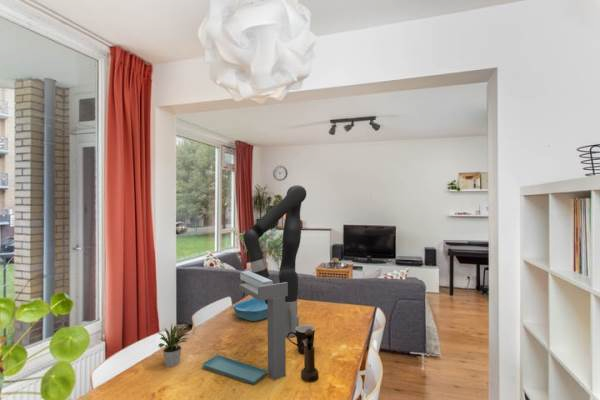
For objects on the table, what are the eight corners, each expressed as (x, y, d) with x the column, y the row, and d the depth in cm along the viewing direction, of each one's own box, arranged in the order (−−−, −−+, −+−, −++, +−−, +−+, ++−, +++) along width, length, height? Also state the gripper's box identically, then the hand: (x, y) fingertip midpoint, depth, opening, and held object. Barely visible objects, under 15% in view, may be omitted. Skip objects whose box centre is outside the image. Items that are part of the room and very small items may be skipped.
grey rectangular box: (240, 279, 143) (240, 271, 143) (248, 278, 145) (248, 270, 145) (263, 290, 123) (263, 282, 123) (272, 289, 125) (272, 280, 125)
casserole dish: (267, 302, 215) (267, 292, 215) (294, 308, 202) (294, 297, 202) (225, 318, 185) (225, 306, 185) (254, 326, 172) (253, 313, 172)
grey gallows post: (239, 361, 133) (239, 277, 134) (265, 354, 139) (265, 273, 140) (260, 384, 116) (259, 287, 116) (289, 375, 122) (288, 282, 123)
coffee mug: (317, 348, 145) (317, 326, 145) (311, 357, 136) (311, 333, 137) (293, 345, 148) (293, 323, 149) (286, 353, 140) (286, 330, 140)
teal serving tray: (268, 375, 123) (268, 369, 123) (254, 387, 115) (254, 380, 115) (217, 360, 135) (217, 354, 135) (201, 369, 127) (201, 363, 127)
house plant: (165, 378, 120) (165, 334, 121) (143, 368, 128) (143, 327, 128) (196, 362, 132) (196, 322, 133) (174, 354, 140) (174, 317, 140)
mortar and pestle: (300, 373, 123) (299, 326, 124) (316, 372, 124) (316, 325, 124) (301, 382, 117) (301, 333, 117) (319, 381, 117) (318, 332, 118)
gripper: (266, 268, 150) (275, 302, 149) (267, 265, 164) (275, 296, 163) (250, 273, 150) (260, 307, 148) (253, 269, 164) (261, 300, 162)
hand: (268, 301), depth 156 cm, fingers open, 8 cm apart
